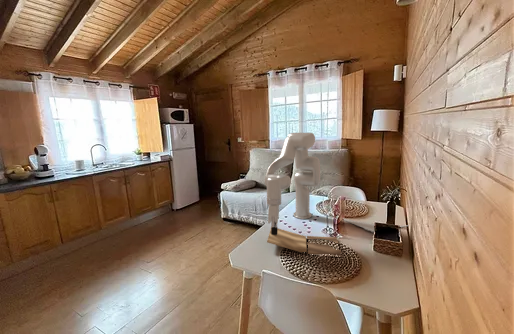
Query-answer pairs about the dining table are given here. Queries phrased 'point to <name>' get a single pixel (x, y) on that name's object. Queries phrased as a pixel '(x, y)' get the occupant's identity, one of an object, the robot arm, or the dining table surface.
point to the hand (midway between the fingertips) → (274, 233)
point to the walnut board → (322, 246)
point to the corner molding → (365, 225)
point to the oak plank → (288, 240)
